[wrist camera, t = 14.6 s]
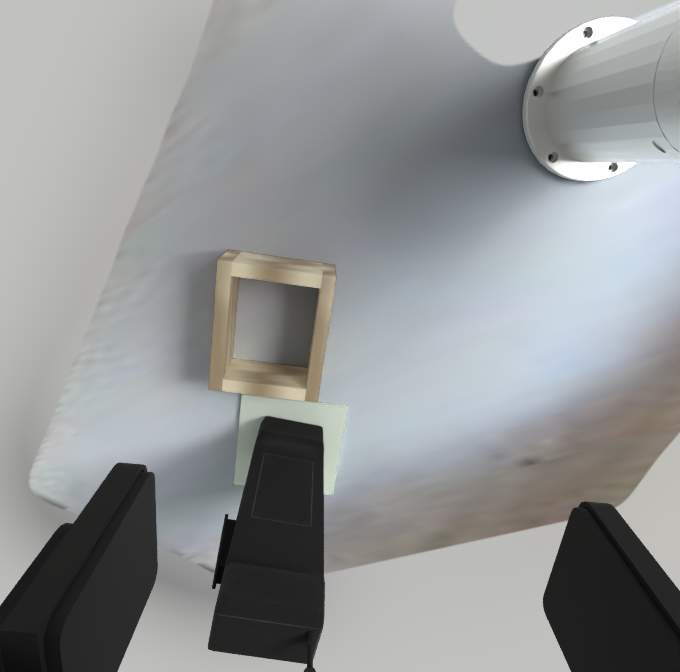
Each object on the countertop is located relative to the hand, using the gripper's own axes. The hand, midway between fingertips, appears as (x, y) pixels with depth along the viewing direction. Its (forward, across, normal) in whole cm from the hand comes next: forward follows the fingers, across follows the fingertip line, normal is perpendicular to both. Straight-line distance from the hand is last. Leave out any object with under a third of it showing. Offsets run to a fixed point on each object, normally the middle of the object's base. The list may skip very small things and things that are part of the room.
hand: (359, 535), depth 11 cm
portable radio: (+36, +4, +22) cm, 43 cm away
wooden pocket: (+37, +6, +8) cm, 38 cm away
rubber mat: (+37, +3, +22) cm, 43 cm away
